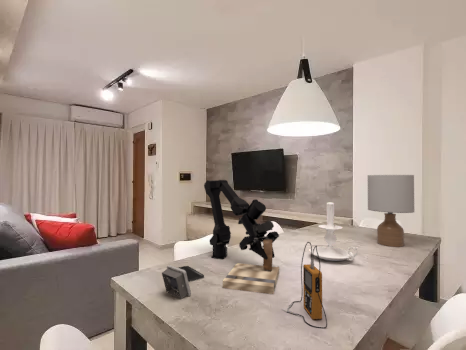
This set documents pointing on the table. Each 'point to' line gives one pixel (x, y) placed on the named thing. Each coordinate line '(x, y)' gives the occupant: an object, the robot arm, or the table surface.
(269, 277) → the board
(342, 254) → the candlestick
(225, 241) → the robot arm
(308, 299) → the multimeter
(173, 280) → the electrical switch
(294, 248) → the table surface
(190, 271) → the phone
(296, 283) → the table surface
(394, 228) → the lamp
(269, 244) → the brown round-topped cylinder
